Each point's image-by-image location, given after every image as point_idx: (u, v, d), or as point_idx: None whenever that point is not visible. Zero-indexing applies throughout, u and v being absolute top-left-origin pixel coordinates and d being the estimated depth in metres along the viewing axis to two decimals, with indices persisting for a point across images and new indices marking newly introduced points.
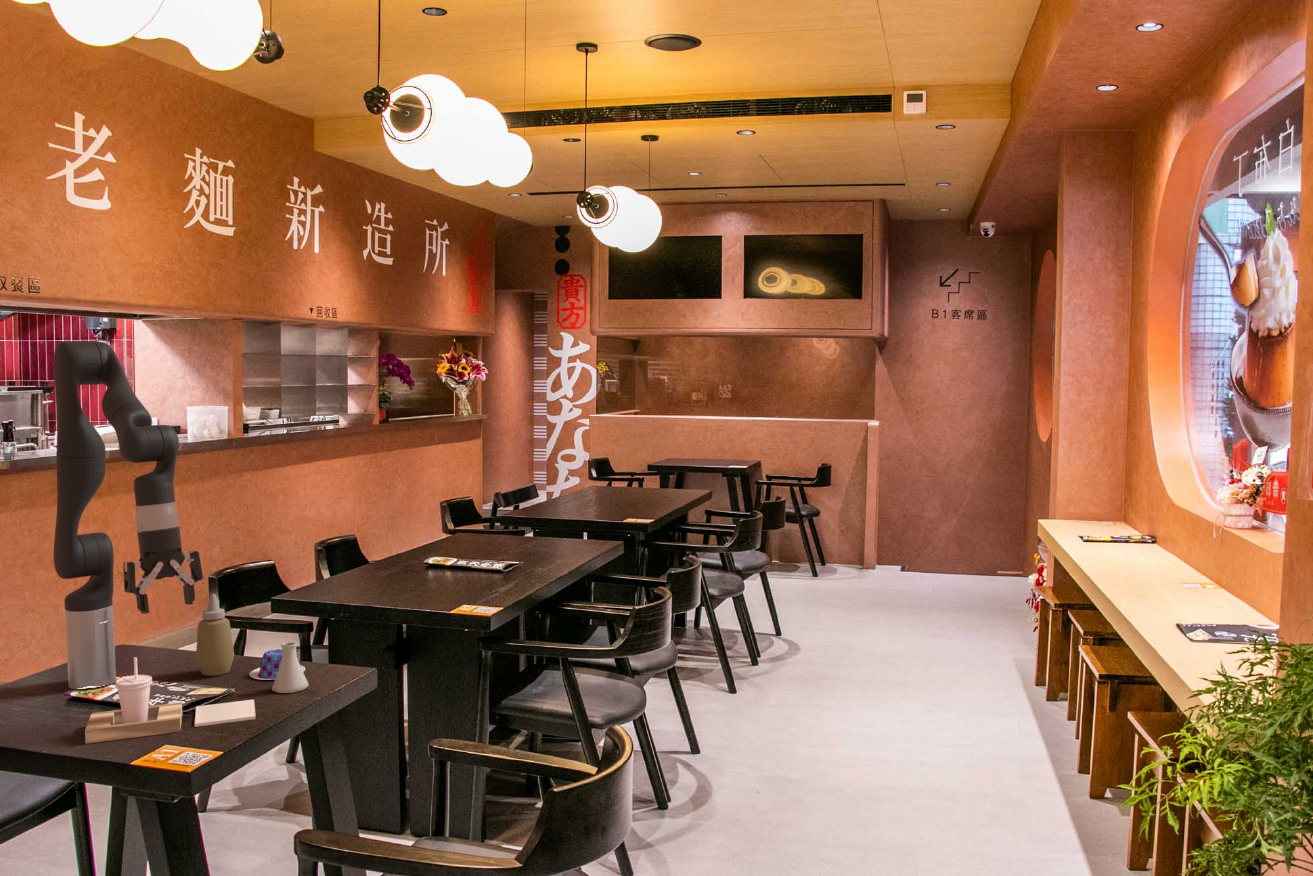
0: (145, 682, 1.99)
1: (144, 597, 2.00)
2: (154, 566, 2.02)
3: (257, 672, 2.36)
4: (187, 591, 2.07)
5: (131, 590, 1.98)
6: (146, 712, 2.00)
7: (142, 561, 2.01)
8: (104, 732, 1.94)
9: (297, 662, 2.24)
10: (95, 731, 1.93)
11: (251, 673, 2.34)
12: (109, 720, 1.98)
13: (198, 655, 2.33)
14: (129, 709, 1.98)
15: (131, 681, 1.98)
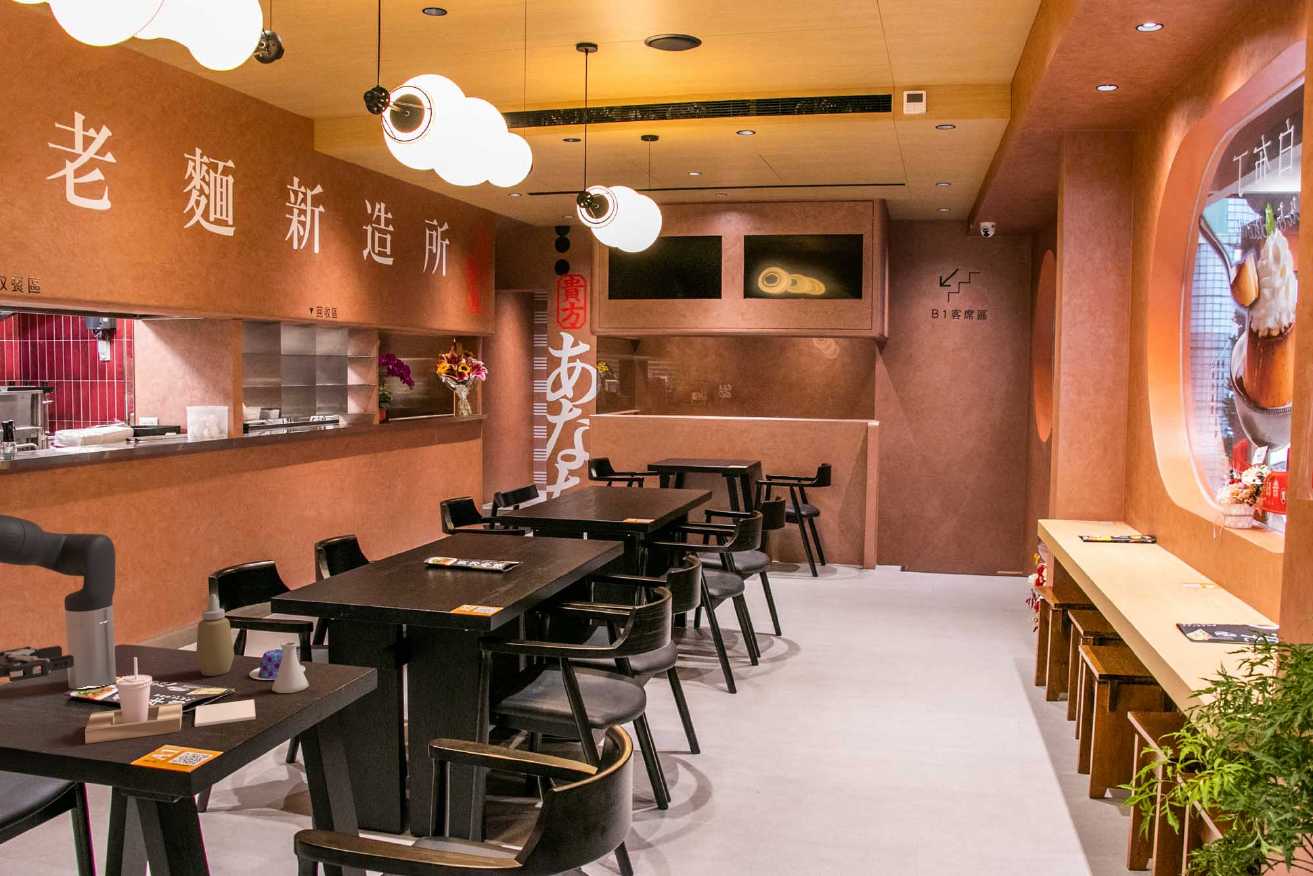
0: (145, 682, 1.99)
1: None
2: None
3: (257, 672, 2.36)
4: None
5: None
6: (146, 712, 2.00)
7: None
8: (104, 732, 1.94)
9: (297, 662, 2.24)
10: (95, 731, 1.93)
11: (251, 673, 2.34)
12: (109, 720, 1.98)
13: (198, 655, 2.33)
14: (129, 709, 1.98)
15: (131, 681, 1.98)
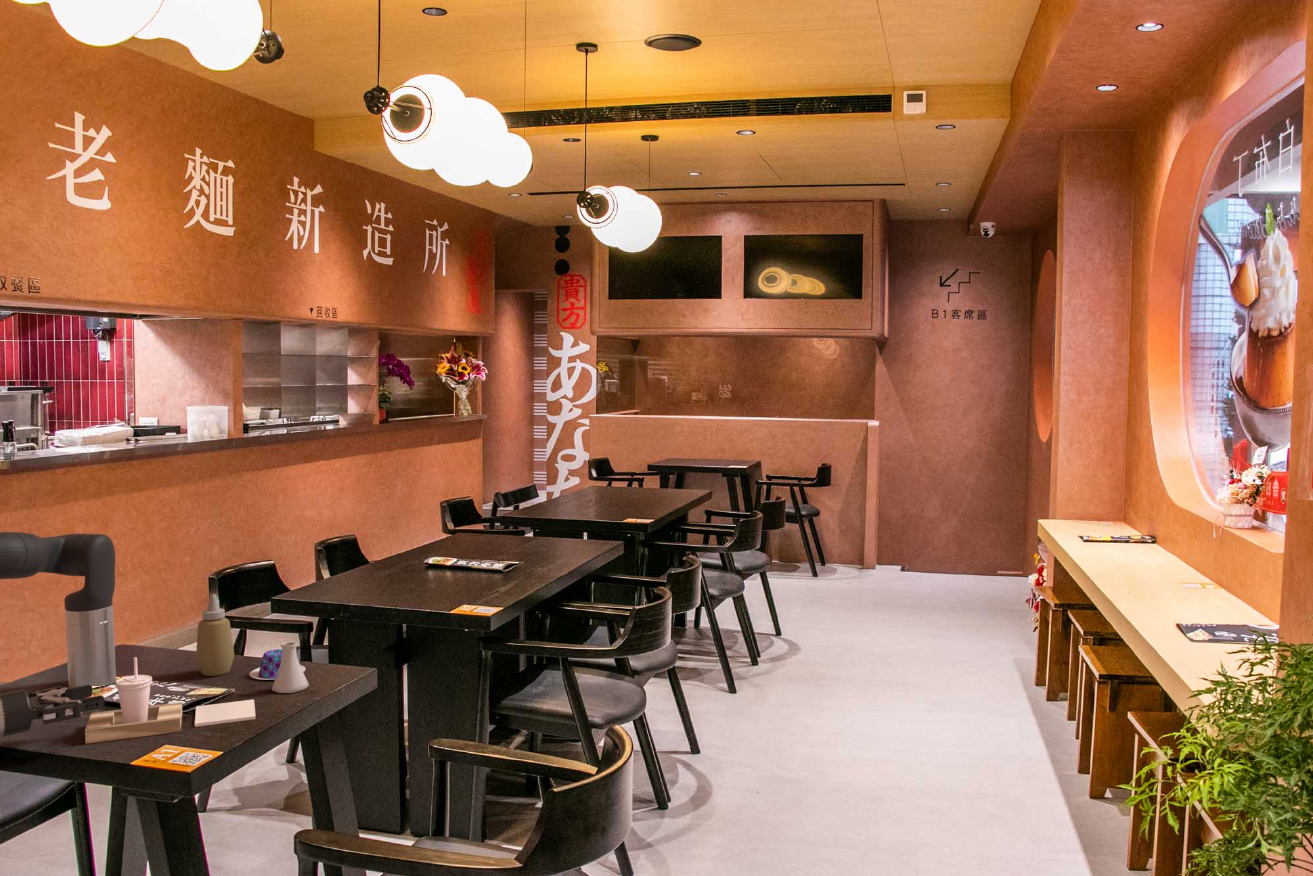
0: (145, 682, 1.99)
1: None
2: None
3: (256, 673, 2.36)
4: None
5: None
6: (146, 712, 2.00)
7: None
8: (104, 732, 1.94)
9: (297, 662, 2.24)
10: (95, 731, 1.93)
11: (251, 674, 2.34)
12: (109, 720, 1.98)
13: (198, 655, 2.33)
14: (129, 709, 1.98)
15: (131, 681, 1.98)
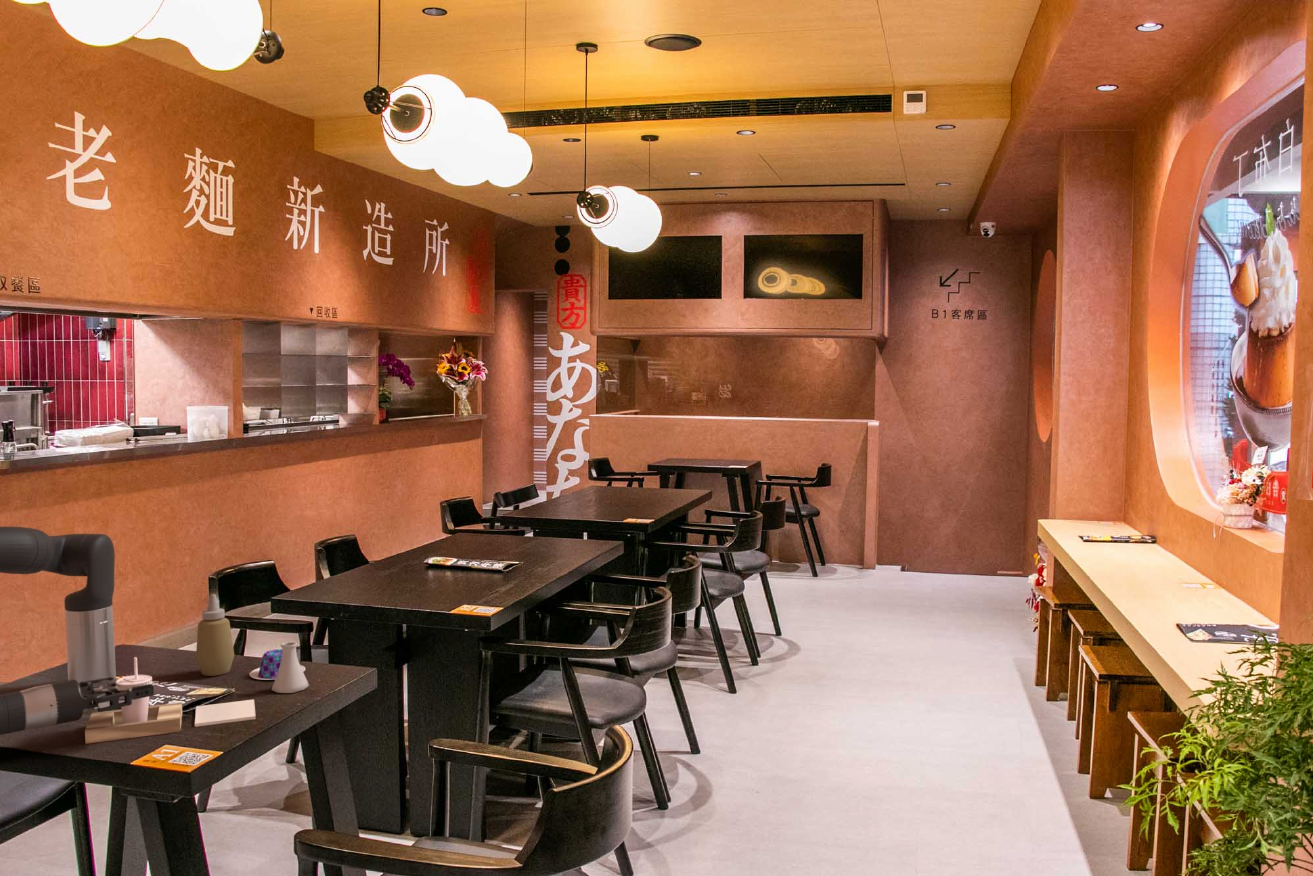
0: (145, 682, 1.99)
1: None
2: None
3: (256, 673, 2.35)
4: None
5: None
6: (146, 712, 2.00)
7: None
8: (104, 732, 1.94)
9: (297, 662, 2.24)
10: (95, 731, 1.93)
11: (251, 674, 2.34)
12: (109, 720, 1.98)
13: (198, 655, 2.33)
14: (129, 709, 1.98)
15: (131, 681, 1.98)
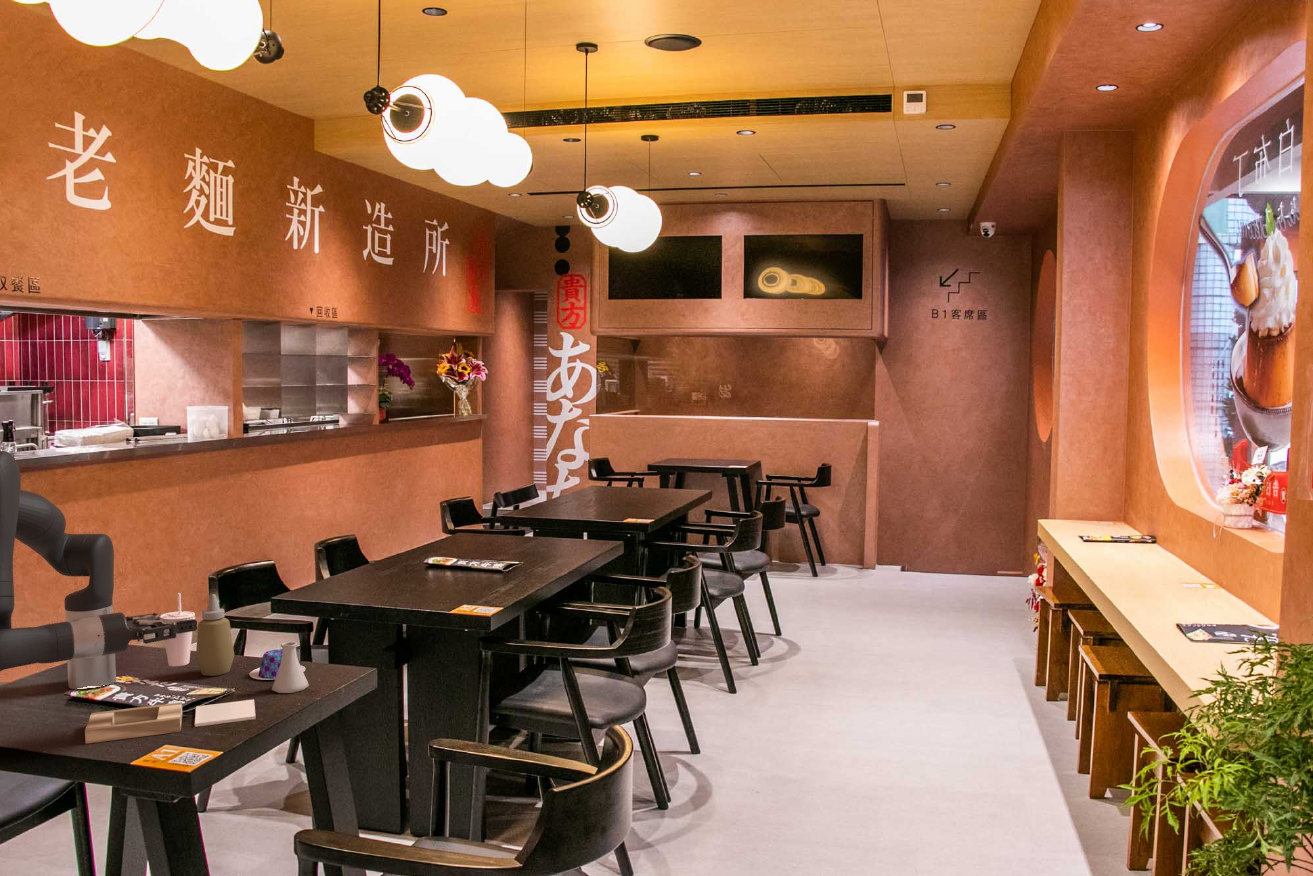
0: (188, 617, 2.01)
1: None
2: None
3: (255, 673, 2.35)
4: None
5: None
6: (189, 647, 2.03)
7: None
8: (104, 732, 1.94)
9: (297, 662, 2.24)
10: (95, 731, 1.93)
11: (251, 675, 2.33)
12: (109, 720, 1.98)
13: (198, 655, 2.33)
14: (172, 643, 2.01)
15: (175, 616, 2.01)
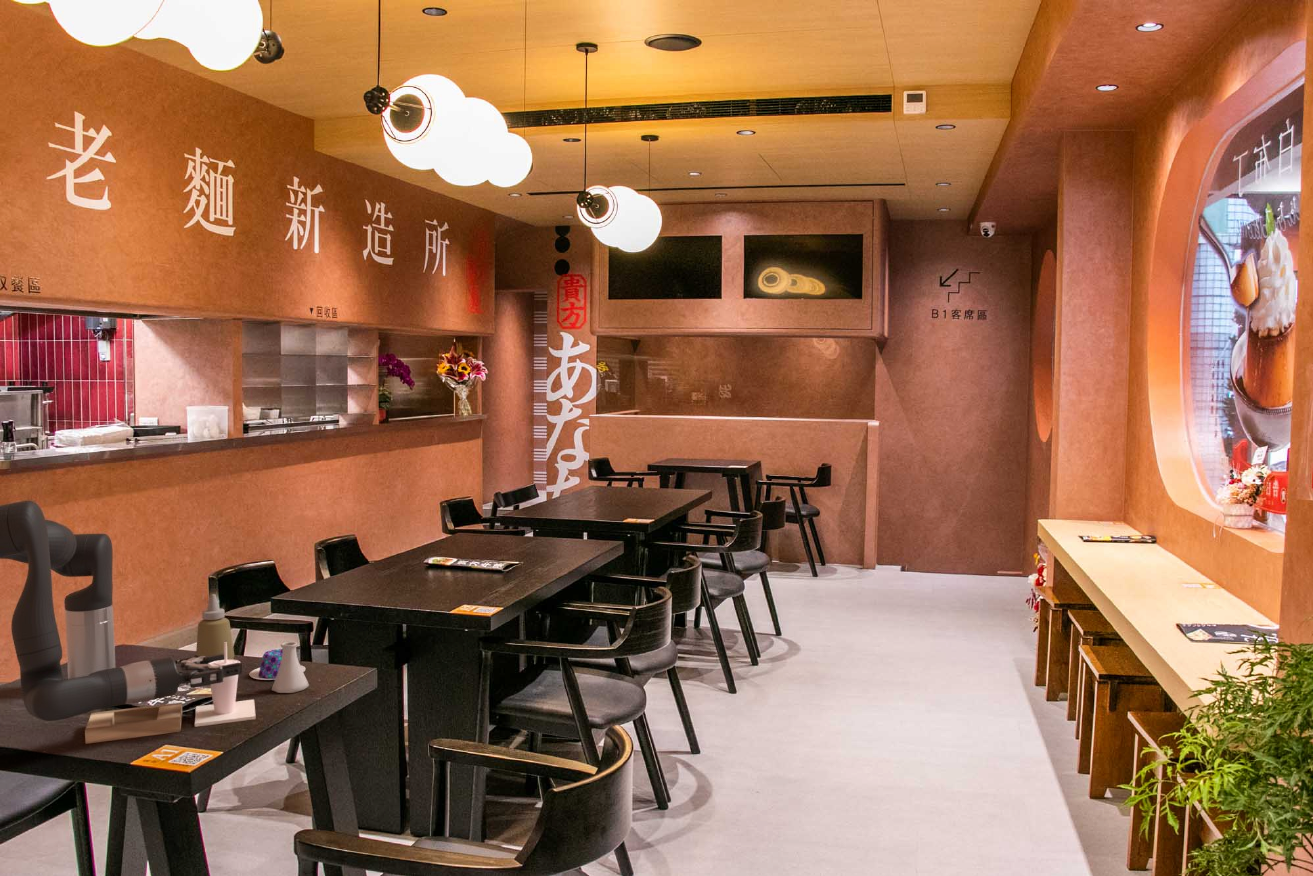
0: None
1: None
2: None
3: (255, 674, 2.34)
4: None
5: None
6: (235, 695, 2.08)
7: None
8: (104, 732, 1.94)
9: (297, 662, 2.24)
10: (95, 731, 1.93)
11: (251, 675, 2.33)
12: (109, 720, 1.98)
13: None
14: (219, 691, 2.06)
15: (221, 665, 2.06)
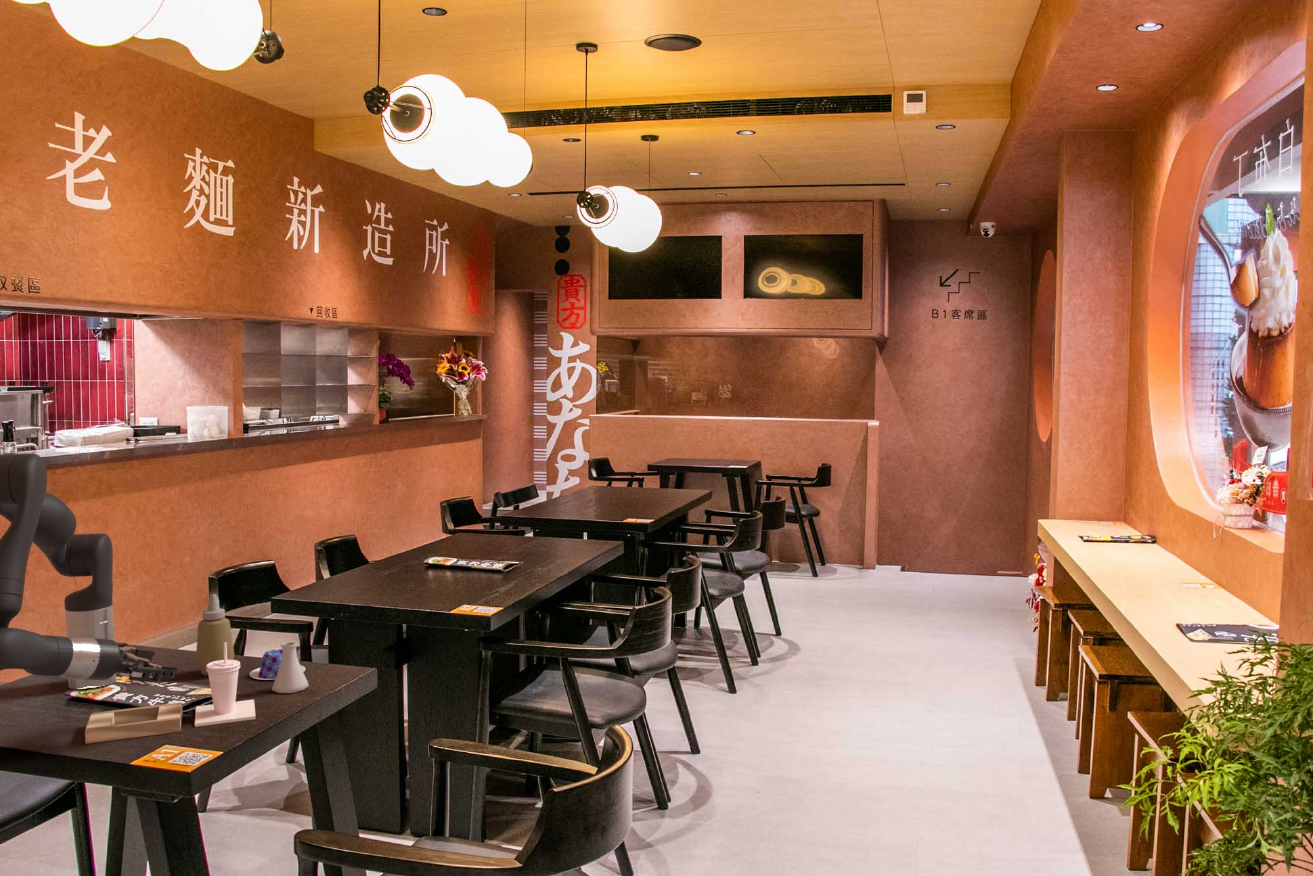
0: (234, 666, 2.06)
1: None
2: None
3: (255, 675, 2.34)
4: None
5: None
6: (235, 695, 2.08)
7: None
8: (104, 732, 1.94)
9: (297, 662, 2.24)
10: (95, 731, 1.93)
11: (251, 676, 2.32)
12: (109, 720, 1.98)
13: (198, 655, 2.33)
14: (219, 692, 2.06)
15: (221, 665, 2.06)
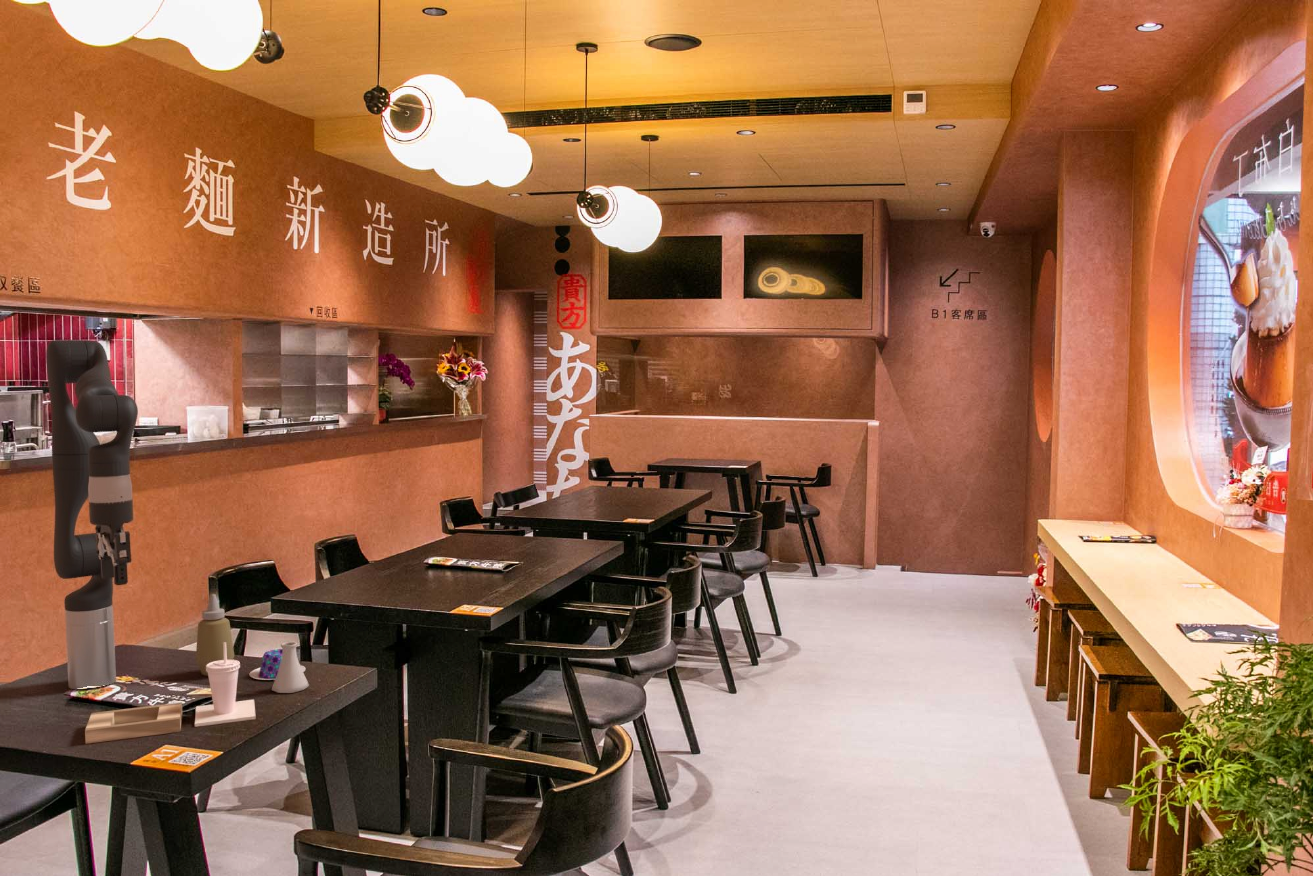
0: (234, 666, 2.06)
1: None
2: None
3: (255, 675, 2.34)
4: None
5: None
6: (234, 695, 2.08)
7: None
8: (104, 732, 1.94)
9: (297, 662, 2.24)
10: (95, 731, 1.93)
11: (252, 676, 2.32)
12: (109, 720, 1.98)
13: (198, 655, 2.33)
14: (219, 692, 2.06)
15: (221, 665, 2.06)
